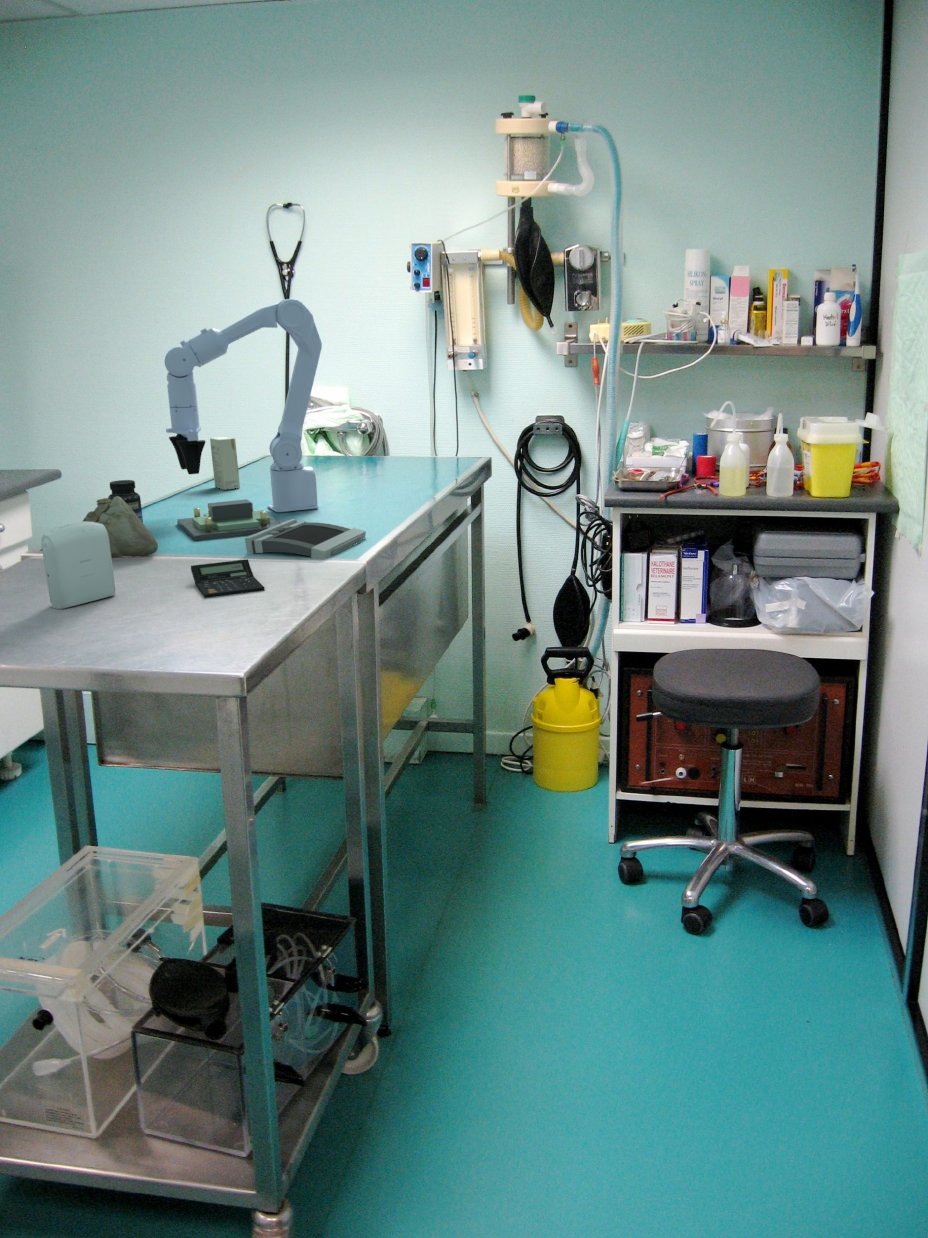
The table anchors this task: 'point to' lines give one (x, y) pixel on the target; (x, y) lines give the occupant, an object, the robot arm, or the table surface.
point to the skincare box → (225, 462)
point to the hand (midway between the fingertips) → (190, 471)
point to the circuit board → (230, 522)
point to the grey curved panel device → (304, 539)
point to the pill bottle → (127, 495)
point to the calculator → (225, 578)
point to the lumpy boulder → (123, 528)
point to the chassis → (214, 533)
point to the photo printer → (78, 564)
